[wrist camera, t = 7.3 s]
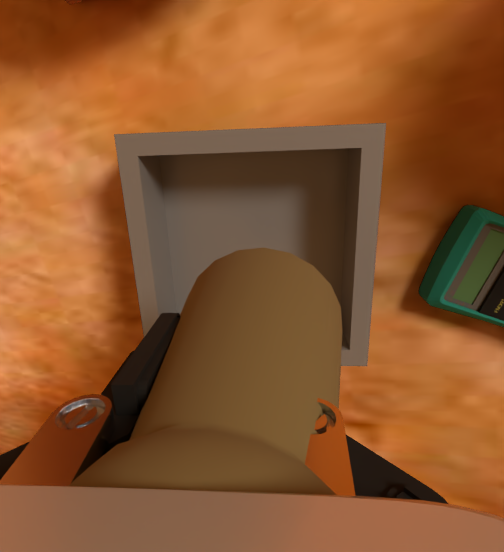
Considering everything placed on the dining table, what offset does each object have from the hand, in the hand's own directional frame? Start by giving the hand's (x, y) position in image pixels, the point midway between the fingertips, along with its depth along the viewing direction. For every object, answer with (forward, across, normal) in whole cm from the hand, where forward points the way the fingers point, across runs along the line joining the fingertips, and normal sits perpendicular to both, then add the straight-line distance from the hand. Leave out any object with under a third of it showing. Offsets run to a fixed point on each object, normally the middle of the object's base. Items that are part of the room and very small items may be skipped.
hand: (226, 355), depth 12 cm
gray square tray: (+16, 0, 0) cm, 16 cm away
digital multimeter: (+17, -20, +4) cm, 26 cm away
